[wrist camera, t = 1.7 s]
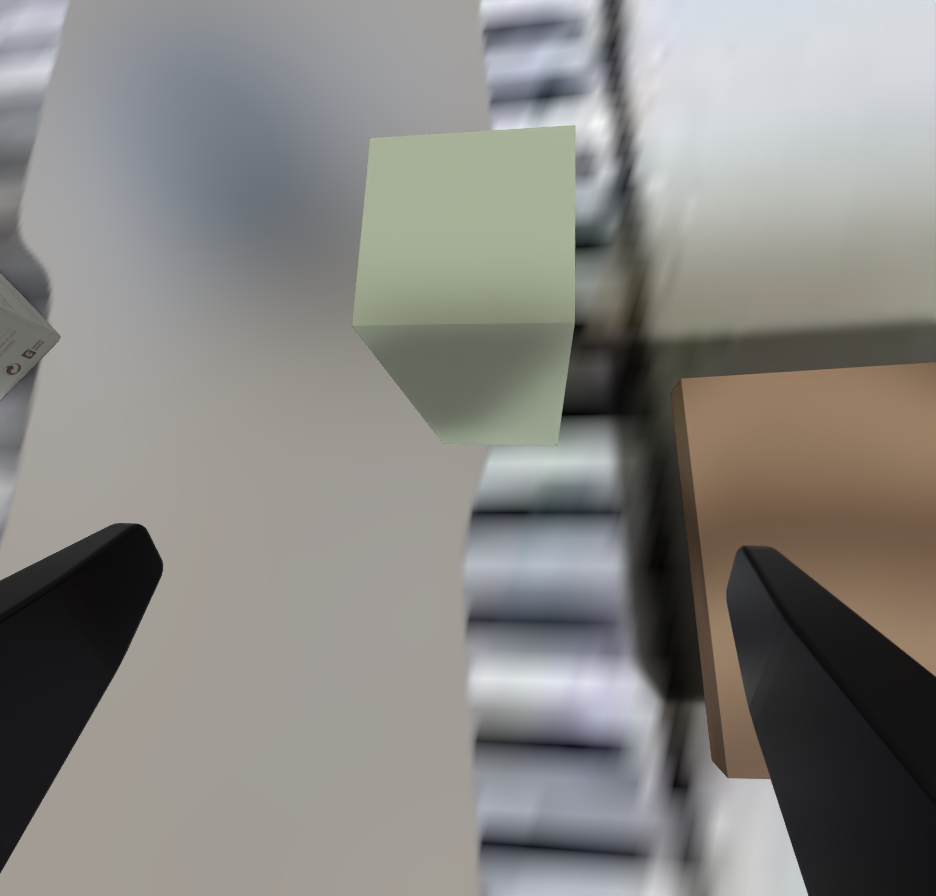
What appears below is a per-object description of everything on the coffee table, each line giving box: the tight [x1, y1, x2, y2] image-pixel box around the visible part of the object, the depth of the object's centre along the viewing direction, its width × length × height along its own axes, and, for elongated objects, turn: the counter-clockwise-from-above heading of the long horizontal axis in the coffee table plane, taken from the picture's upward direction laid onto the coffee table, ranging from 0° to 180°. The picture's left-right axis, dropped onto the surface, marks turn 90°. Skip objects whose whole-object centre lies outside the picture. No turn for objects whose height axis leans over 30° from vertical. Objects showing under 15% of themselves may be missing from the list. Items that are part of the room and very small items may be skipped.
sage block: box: [352, 125, 575, 446], centre depth 17 cm, size 4×4×11 cm
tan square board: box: [671, 362, 936, 779], centre depth 18 cm, size 12×12×3 cm
